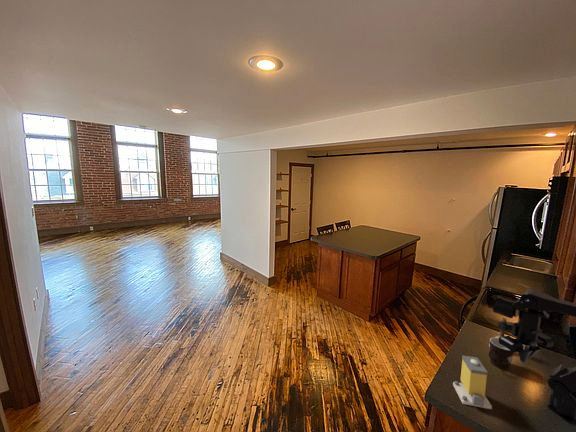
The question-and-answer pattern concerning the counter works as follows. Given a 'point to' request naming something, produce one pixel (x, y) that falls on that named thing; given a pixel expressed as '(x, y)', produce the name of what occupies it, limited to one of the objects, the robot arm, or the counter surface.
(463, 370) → the yellow block on base
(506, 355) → the coffee mug
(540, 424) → the counter surface
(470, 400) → the base
